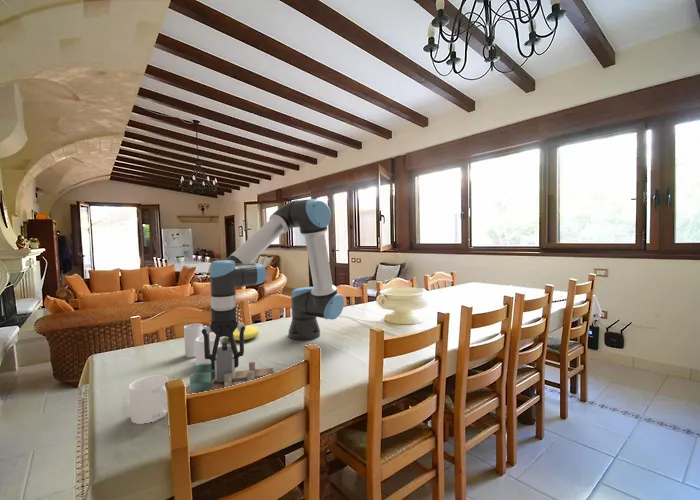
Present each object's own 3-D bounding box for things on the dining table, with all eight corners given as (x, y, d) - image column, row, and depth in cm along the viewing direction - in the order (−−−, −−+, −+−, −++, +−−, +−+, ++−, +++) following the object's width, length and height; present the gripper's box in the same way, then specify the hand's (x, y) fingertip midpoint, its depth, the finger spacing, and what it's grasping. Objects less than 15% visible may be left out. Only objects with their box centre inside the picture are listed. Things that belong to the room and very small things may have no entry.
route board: (273, 370, 118) (272, 354, 118) (273, 388, 105) (272, 370, 104) (195, 378, 112) (194, 361, 112) (184, 398, 99) (184, 379, 98)
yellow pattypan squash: (257, 331, 164) (257, 317, 163) (260, 341, 149) (260, 326, 149) (224, 335, 158) (223, 320, 158) (224, 345, 144) (223, 330, 143)
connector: (233, 374, 110) (232, 340, 110) (231, 380, 106) (231, 344, 105) (219, 376, 109) (218, 341, 108) (217, 382, 105) (216, 345, 104)
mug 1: (123, 418, 88) (122, 385, 88) (157, 403, 96) (156, 372, 96) (149, 432, 82) (147, 396, 82) (182, 414, 90) (181, 381, 90)
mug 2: (189, 359, 128) (188, 329, 128) (181, 355, 133) (180, 326, 132) (213, 352, 136) (212, 323, 135) (206, 348, 140) (205, 320, 140)
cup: (204, 370, 118) (203, 343, 117) (187, 362, 125) (186, 336, 125) (224, 363, 125) (223, 337, 124) (207, 356, 132) (206, 331, 131)
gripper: (252, 303, 112) (253, 370, 113) (196, 306, 108) (199, 375, 109) (251, 309, 105) (252, 379, 106) (191, 312, 100) (194, 386, 102)
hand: (225, 377), depth 108 cm, fingers closed on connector, 4 cm apart
